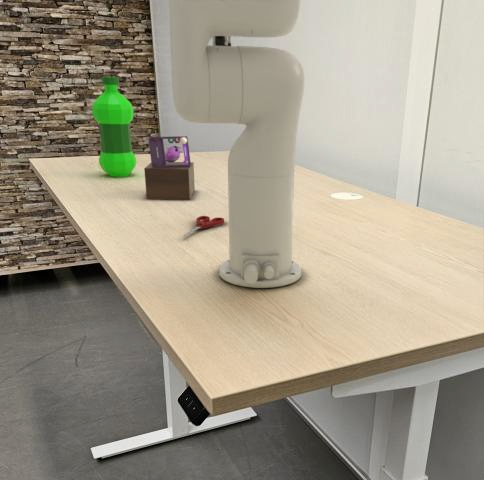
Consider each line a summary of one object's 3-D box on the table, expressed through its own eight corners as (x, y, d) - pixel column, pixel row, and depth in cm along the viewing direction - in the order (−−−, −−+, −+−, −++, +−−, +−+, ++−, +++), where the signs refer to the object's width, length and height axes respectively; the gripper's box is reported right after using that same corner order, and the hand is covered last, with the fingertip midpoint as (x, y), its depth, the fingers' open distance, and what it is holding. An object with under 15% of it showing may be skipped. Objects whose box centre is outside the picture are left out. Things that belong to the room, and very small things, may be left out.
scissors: (226, 222, 116) (225, 217, 116) (197, 240, 104) (197, 234, 104) (201, 219, 117) (201, 214, 117) (170, 237, 105) (169, 231, 105)
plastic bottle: (141, 177, 157) (133, 78, 147) (100, 179, 153) (89, 77, 143) (136, 171, 165) (128, 76, 155) (97, 172, 162) (87, 75, 151)
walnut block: (189, 199, 134) (188, 169, 131) (146, 198, 134) (144, 168, 131) (194, 191, 143) (193, 162, 140) (154, 190, 143) (152, 161, 140)
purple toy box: (148, 136, 130) (188, 135, 134) (145, 141, 135) (183, 140, 138) (152, 166, 131) (191, 165, 134) (149, 170, 136) (186, 169, 139)
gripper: (239, -39, 98) (240, 70, 105) (243, -26, 114) (243, 69, 121) (195, -41, 98) (198, 69, 105) (205, -27, 113) (207, 68, 121)
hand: (222, 69), depth 113 cm, fingers open, 9 cm apart
